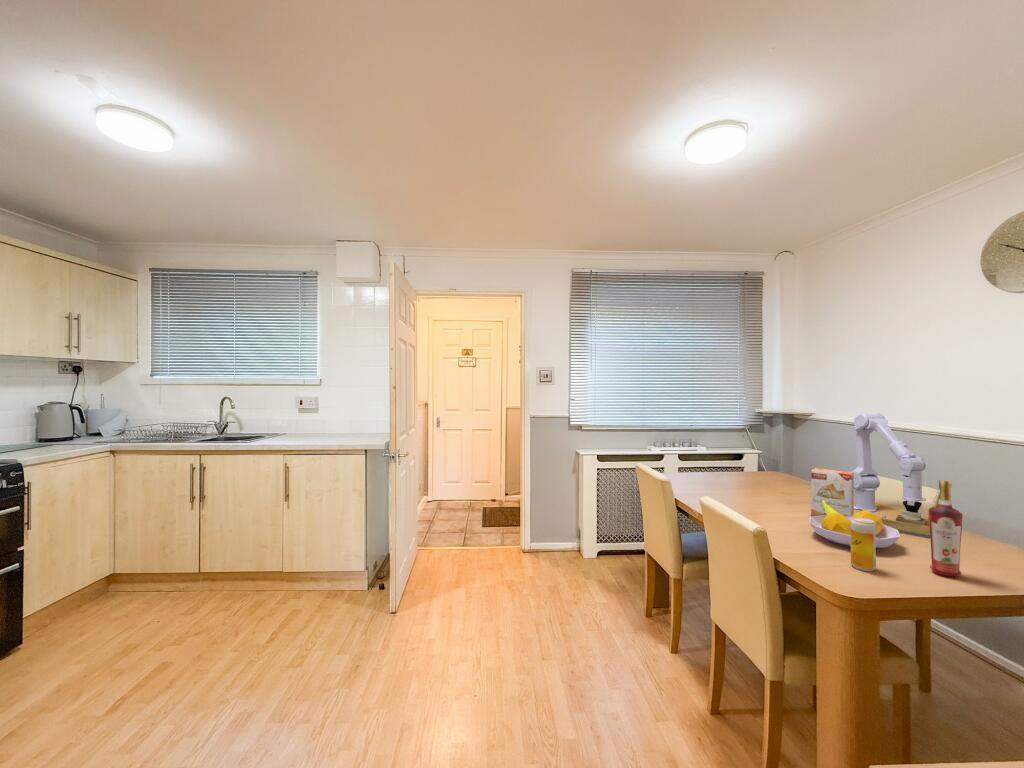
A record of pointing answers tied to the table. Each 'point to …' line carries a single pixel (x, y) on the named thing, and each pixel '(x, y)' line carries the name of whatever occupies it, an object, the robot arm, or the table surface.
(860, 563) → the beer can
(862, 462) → the robot arm
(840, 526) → the fruit bowl
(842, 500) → the cracker box
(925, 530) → the plate
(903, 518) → the square caster platform
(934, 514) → the liquor
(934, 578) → the table surface
